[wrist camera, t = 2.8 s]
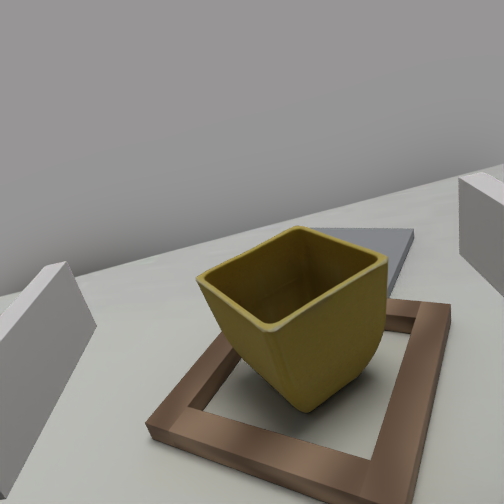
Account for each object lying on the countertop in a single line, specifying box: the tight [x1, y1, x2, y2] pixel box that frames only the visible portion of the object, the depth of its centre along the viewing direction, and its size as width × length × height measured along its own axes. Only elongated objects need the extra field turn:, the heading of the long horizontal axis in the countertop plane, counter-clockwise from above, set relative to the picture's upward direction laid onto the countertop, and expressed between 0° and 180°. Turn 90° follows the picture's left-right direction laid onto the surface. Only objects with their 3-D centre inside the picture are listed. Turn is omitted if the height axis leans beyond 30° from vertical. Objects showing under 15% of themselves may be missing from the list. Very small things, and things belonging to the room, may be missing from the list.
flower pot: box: [196, 226, 388, 413], centre depth 28 cm, size 9×9×9 cm
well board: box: [145, 298, 451, 504], centre depth 29 cm, size 16×16×2 cm
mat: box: [310, 228, 414, 298], centre depth 42 cm, size 12×12×1 cm
